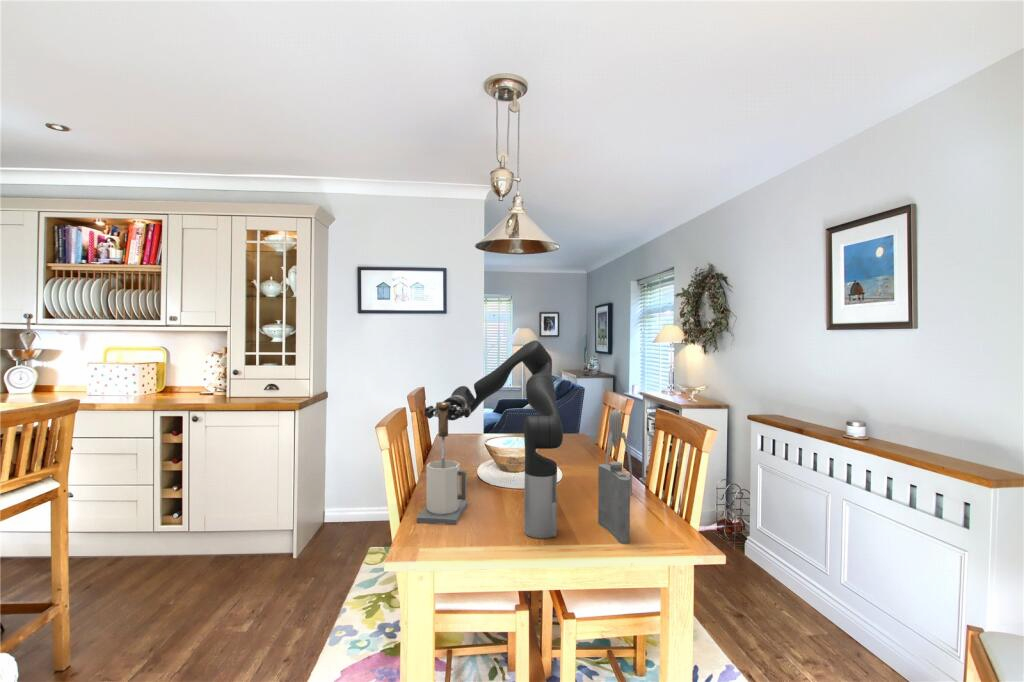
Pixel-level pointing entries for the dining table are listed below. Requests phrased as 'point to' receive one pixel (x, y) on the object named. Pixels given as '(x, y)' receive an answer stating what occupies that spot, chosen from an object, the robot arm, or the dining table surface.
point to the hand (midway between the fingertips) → (442, 415)
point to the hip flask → (614, 501)
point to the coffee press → (444, 493)
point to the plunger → (443, 425)
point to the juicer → (614, 437)
